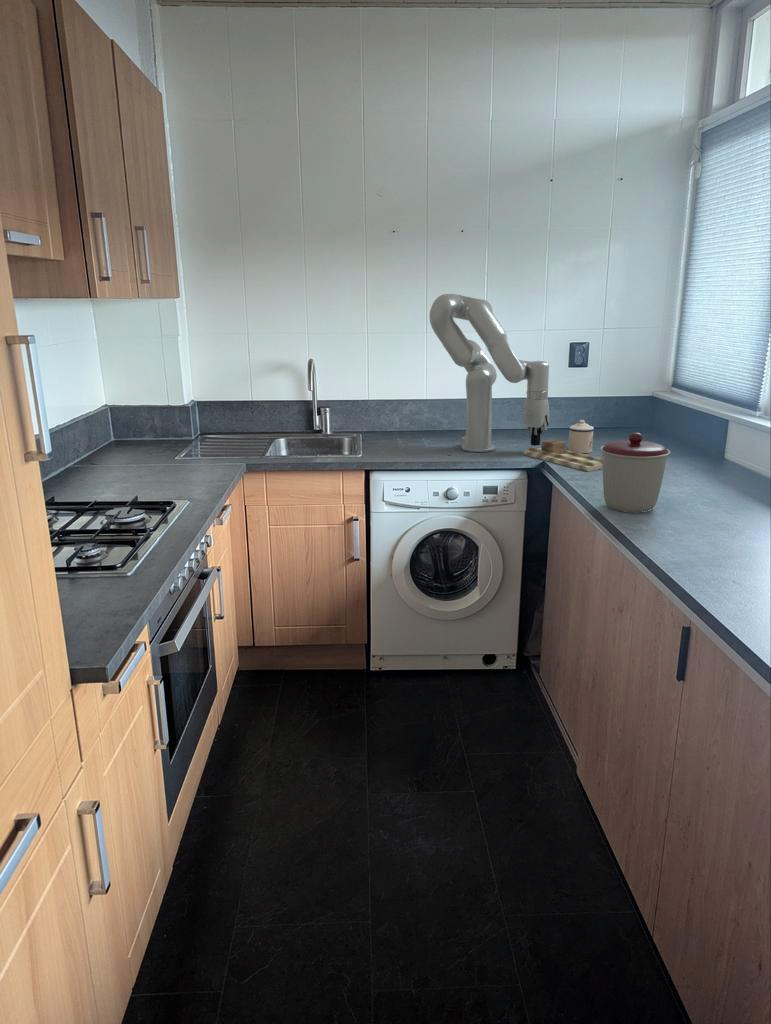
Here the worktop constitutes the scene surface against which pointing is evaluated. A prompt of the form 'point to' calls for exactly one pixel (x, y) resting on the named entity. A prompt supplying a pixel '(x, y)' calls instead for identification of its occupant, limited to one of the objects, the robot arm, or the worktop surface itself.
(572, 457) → the birch rail board
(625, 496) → the canister
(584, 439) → the teacup with lid
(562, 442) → the walnut slider
